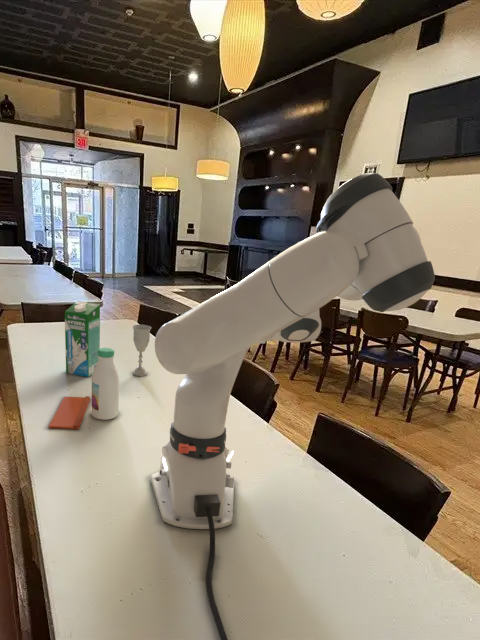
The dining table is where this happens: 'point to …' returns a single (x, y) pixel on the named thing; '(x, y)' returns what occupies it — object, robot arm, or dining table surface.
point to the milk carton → (82, 338)
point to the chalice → (141, 345)
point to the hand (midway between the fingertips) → (209, 320)
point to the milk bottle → (105, 386)
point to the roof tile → (70, 413)
